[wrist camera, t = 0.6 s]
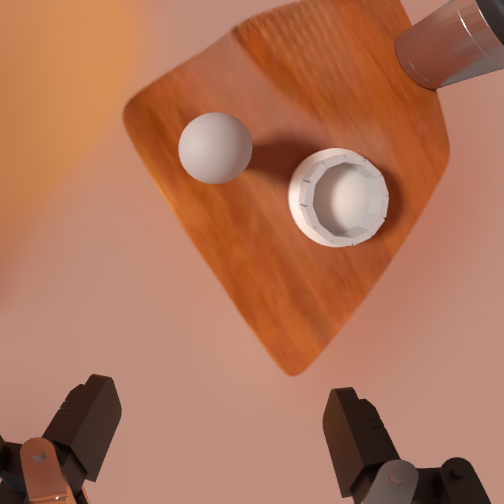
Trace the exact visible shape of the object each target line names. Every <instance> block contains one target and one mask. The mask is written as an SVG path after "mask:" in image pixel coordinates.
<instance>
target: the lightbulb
mask: <svg viewBox="0 0 504 504" xmlns="http://www.w3.org/2000/svg"><path fill="white" fill-rule="evenodd" d="M252 149H253V148H252V139H251V136H250V133H249V131H248V129H247V128H246V127H245V125H244V124H243V123H242V122H241V121H240V120H238V119H237V118H235V117H233V116H231V115H229V114H225V113H220V112H213V113H207V114H203V115H201V116H199V117H197V118H195V119H194V120H193V121H191V122H190V123H189V124H188V125H187V127H186V128H185V129H184V131H183V133H182V135H181V138H180V141H179V156H180V160H181V163H182V165H183V167H184V168H185V170H186V171H187V172H188V173H189V174H190V175H191V176H192V177H193V178H195V179H197V180H199V181H201V182H204V183H209V184H221V183H225V182H228V181H230V180H232V179H234V178H236V177H237V176H238V175H240V174H241V173H242V172H243V171H244V169H245V168H246V167H247V165H248V163H249V161H250V158H251V156H252Z"/></svg>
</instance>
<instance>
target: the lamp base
mask: <svg viewBox="0 0 504 504" xmlns="http://www.w3.org/2000/svg"><path fill="white" fill-rule="evenodd" d="M388 195H389V194H388V190H387V187H386V184H385V181H384V178H383V175H381V172H380V171H379V170H377V169H376V168H375V167H374V166H373V165H372V164H371V163H370V162H369V161H368V160H367V159H365V158H363V157H362V156H361V155H359V154H357V153H355V152H353V151H350V150H347V149H341V148H331V149H326V150H322V151H319V152H316V153H314V154H311V155H310V156H308V157H307V158H305V159H304V160H303V161H302V162H301V163H300V164H299V165H298V166H297V167H296V169H295V170H294V172H293V174H292V176H291V178H290V181H289V185H288V190H287V202H288V207H289V211H290V214H291V216H292V218H293V220H294V222H295V223H296V225H297V226H298V227H299V229H300V230H301V231H302V232H304V233H305V234H306V235H307V236H308V237H309V238H311V239H312V240H314V241H315V242H317V243H319V244H322V245H325V246H330V247H344V246H352V245H356V244H358V243H361V242H363V241H365V240H367V239H369V238H371V235H372V236H374V234H375V233H376V232H377V230H378V229H379V227H380V226H381V225H382V223H383V222H384V221H385V219H384V218H383V217H385V218H386V214H387V208H388V201H389V197H386V196H388Z"/></svg>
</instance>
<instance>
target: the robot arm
mask: <svg viewBox="0 0 504 504" xmlns="http://www.w3.org/2000/svg"><path fill="white" fill-rule="evenodd" d="M396 54H397V57H398V60H399V62H400V64H401V66H402V68H403V69H404V70H405V72H406V73H407V74H408V75H409V77H410V78H411V79H413V80H414V81H415V82H416V83H418V84H419V85H421V86H423V87H425V88H428V89H438V88H441V87H444V86H447V85H450V84H453V83H457V82H460V81H463V80H466V79H469V78H473V77H475V76H479V75H483V74H486V73H490V72H493V71H497V70H501V69H504V0H450V1H449V2H447V3H446V4H444V5H443V6H441V7H440V8H438V9H437V10H435V11H434V12H432V13H431V14H429V15H428V16H426V17H425V18H424V19H422V20H421V21H419V22H418V23H417V24H415V25H413V26H412V27H411V28H409V29H408V30H407V31H405V32H404V33H403V34H401V35H400V36H399V37H398V39H397V41H396ZM121 412H122V410H121V404H120V401H119V398H118V394H117V391H116V388H115V385H114V381H113V379H112V378H111V377H107V376H101V375H97V374H92V375H91V376H90V377H89V379H88V380H87V382H86V383H85V385H83V384H80V385H78V386H77V387H75V388H74V389H73V390H71V391H70V393H69V394H68V396H67V397H66V399H65V402H63V404H62V405H61V407H60V410H58V411H57V413H56V415H55V416H54V418H53V419H52V421H51V423H50V424H49V426H48V427H47V429H46V431H45V432H44V434H43V436H42V437H34V438H31V439H29V440H27V441H26V442H25V443H24V444H17V443H11V442H5V441H4V439H3V438H2V437H1V435H0V478H1V479H2V481H1V483H0V504H91V503H90V501H89V499H88V496H87V494H86V492H85V489H84V487H83V482H84V480H85V479H87V480H90V481H93V482H96V479H97V476H98V474H99V471H100V468H101V466H102V463H103V461H104V458H105V456H106V453H107V451H108V448H109V445H110V443H111V441H112V438H113V436H114V433H115V431H116V428H117V426H118V424H119V421H120V418H121ZM323 431H324V434H325V438H326V441H327V444H328V448H329V452H330V456H331V459H332V463H333V466H334V470H335V473H336V477H337V481H338V484H339V488H340V492H341V495H342V498H345V497H350V496H352V497H353V500H354V504H491V502H490V500H489V498H488V496H487V494H486V492H485V490H484V488H483V486H482V484H481V482H480V480H479V478H478V476H477V474H476V472H475V470H474V468H473V467H472V465H471V464H470V463H469V462H468V461H467V460H465V459H463V458H459V457H456V458H451V459H449V460H447V461H446V462H445V463H444V464H443V465H442V466H441V467H439V468H423V469H422V468H415V467H414V465H413V464H411V463H410V462H407V461H404V460H401V459H400V457H399V455H398V453H397V451H396V449H395V447H394V445H393V443H392V440H391V438H390V436H389V434H388V432H387V430H386V428H384V424H383V422H382V420H381V419H380V416H379V414H378V412H377V410H376V408H375V407H374V406H373V405H372V404H371V403H370V402H369V401H367V400H366V399H358V397H357V394H356V392H355V390H354V389H353V388H352V387H347V388H337V389H332V390H331V392H330V395H329V398H328V402H327V405H326V408H325V412H324V415H323Z"/></svg>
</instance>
